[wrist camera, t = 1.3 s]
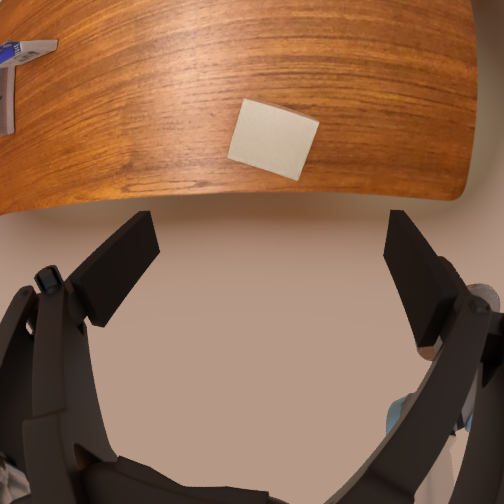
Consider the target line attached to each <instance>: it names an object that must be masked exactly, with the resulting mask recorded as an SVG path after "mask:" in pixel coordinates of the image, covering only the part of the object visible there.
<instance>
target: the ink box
mask: <svg viewBox="0 0 504 504" xmlns="http://www.w3.org/2000/svg"><path fill="white" fill-rule="evenodd" d="M57 42H58V40H57V39H56V40H34V41H22V42H21V41H7V42H5V43H4V44H2V45H1V46H0V50H1V51H0V68H4V67H10V66H16V65H23V64H25V63H27V62H29V61H31V60H33V59H36V58H38V57H40V56H42V55H45V54H47V53H50V52H52V51H54V50H56V49H57Z"/></svg>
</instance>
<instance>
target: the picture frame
mask: <svg viewBox="0 0 504 504" xmlns="http://www.w3.org/2000/svg"><path fill="white" fill-rule="evenodd" d="M14 80H15V66H10V67H4V68H0V137H1V136H5V135H9V134H12V133H14V131H15V129H14V97H13V96H14Z"/></svg>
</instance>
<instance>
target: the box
mask: <svg viewBox="0 0 504 504" xmlns="http://www.w3.org/2000/svg"><path fill="white" fill-rule="evenodd" d="M318 125H319V122H318V121H317V120H316V119H315V118H314V117H313V116H310V115H307V114H304V113H302V112H299V111H296V110H293V109H290V108H287V107H284V106H280V105H277V104H274V103H271V102H267V101H264V100H260V99H249V98H244V100H243V103H242V107H241V110H240V113H239V117H238V120H237V124H236V127H235V131H234V134H233V138H232V141H231V145H230V148H229V152H228V156H227V158H228V159H232V160H235V161H239V162H242V163H245V164H248V165H251V166H255V167H258V168H261V169H264V170H267V171H270V172H273V173H276V174H279V175H282V176H285V177H288V178H291V179H293V180H296V181H298V179H299V177H300V174H301V171H302V169H303V166H304V163H305V161H306V158H307V155H308V153H309V150H310V147H311V144H312V142H313V139H314V136H315V134H316V131H317V128H318Z"/></svg>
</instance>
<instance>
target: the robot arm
mask: <svg viewBox="0 0 504 504" xmlns="http://www.w3.org/2000/svg"><path fill="white" fill-rule="evenodd" d="M159 253H160V250H159V246H158V242H157V238H156V234H155V230H154V226H153V222H152V218H151V214H150V211H139V212H138V213H137V214H136V215H134V216H133V217H132V218H131V219H130V220H128V221H127V222H126V223H125V224H124V225H123V226H121V227H120V228H119V229H118V230H117V231H116V232H115V233H114V234H112V235H111V236H110V237H109V238H108V239H107V240H106V241H105V242H104V243H103V244H101V246H99V247H98V248H97V249H96V250H95V251H94V252H93V253H92V254H91V255H90V256H89V257H88V258H87V259H86V260H85V261H84V262H83V263H82V264H81V265H80V266H79V267H78V268H77V269H76V270H75V271H74V272H73V273H72V274H71V275H70V276H69V277H68V278H67V279H66V280H65V281H63V279H62V277H61V275H60V273H59V271H58V268H57V266H55V265H50V266H47V267H45V268H43V269H42V270H40V271H39V272H38V273H37V274H36V275H35V277H34V279H35V281H36V283H37V285H38V287H39V289H40V291H41V293H39V294H36V292H35V290H34V288H33V286H31V285H30V286H25V287H22V288H21V289H19V291H18V292H17V293H16V295H15V296H14V298H13V300H12V301H11V303H10V305H9V307H8V309H7V311H6V313H5V315H4V317H3V319H2V321H1V323H0V504H289V503H287V502H284V501H282V500H280V499H277V498H273V497H270V496H269V492H267V491H257V490H248V489H241V488H233V487H228V486H225V487H186V486H182V485H180V484H178V483H176V482H175V481H173V480H171V479H169V478H167V477H166V476H164V475H162V474H161V473H159V472H157V471H156V470H154V469H152V468H151V467H149V466H146V465H143V464H140V463H138V462H135V461H132V460H130V459H127V458H125V457H122V456H119V457H117V455H116V454H115V453H114V451H113V450H112V448H111V446H110V444H109V441H108V438H107V434H106V431H105V427H104V423H103V419H102V415H101V411H100V407H99V403H98V398H97V393H96V389H95V383H94V378H93V372H92V366H91V359H90V353H89V344H88V336H87V327H86V324H85V322H84V319H85V318H86V316H88V318H89V320H90V322H91V323H92V325H94V326H99V327H105V325H106V324H107V323H108V321H109V320H110V318H111V317H112V315H113V314H114V313H115V311H116V310H117V308H118V307H119V306H120V304H121V303H122V301H123V300H124V299H125V297H126V296H127V295H128V293H129V292H130V291H131V289H132V288H133V287H134V285H135V284H136V283H137V281H138V280H139V279H140V277H141V276H142V275H143V273H144V272H145V271H146V269H147V268H148V267H149V265H150V264H151V263H152V261H153V260H154V259H155V258H156V257H157V255H158V254H159ZM383 256H384V259H385V261H386V263H387V266H388V268H389V270H390V273H391V275H392V277H393V280H394V283H395V285H396V288H397V290H398V293H399V295H400V298H401V301H402V303H403V306H404V309H405V311H406V314H407V317H408V320H409V323H410V326H411V329H412V332H413V335H414V338H415V341H416V344H417V348H421V347H431V346H433V347H434V349H435V352H436V353H437V354H436V356H435V357H434V359H433V362H432V364H431V366H430V368H429V370H428V372H427V374H426V375H425V377H424V379H423V381H422V382H421V384H420V386H419V388H418V389H417V391H416V392H415V393H410V394H408V395H407V396H405V397H403V398H401V399H399V400H397V401H395V402H393V403H392V405H391V406H390V408H389V410H388V414H387V420H386V437H385V438H384V439H383V441H382V442H381V443H380V445H379V446H378V447H377V448H376V450H375V451H374V452H373V453H372V454H371V456H370V457H369V458H368V459H367V460H366V462H365V463H364V464H363V465H362V466H361V467H360V468H359V470H358V471H357V472H356V473H355V474H354V475H353V476H352V477H351V478H350V479H349V481H348V482H347V483H346V484H345V485H344V486H343V487H342V488H341V489H339V490H338V491H337V492H336V493H335V494H334V495H333V496H332V497H331V498H329V499H328V500H327V501H326V502H325V503H324V504H504V313H499V312H495V311H492V309H491V307H490V305H489V304H488V303H487V301H486V300H484V299H483V298H481V297H479V296H476V295H472V294H471V293H470V291H469V289H468V288H467V286H466V285H465V283H464V282H463V280H462V279H461V278H460V275H459V274H458V272H456V269H455V268H454V267H453V265H452V264H451V263H450V262H449V261H448V260H447V259H445V258H444V257H442V256H437V255H436V253H435V252H434V250H433V249H432V248H431V246H430V245H429V243H428V242H427V240H426V239H425V238H424V237H423V235H422V234H421V232H420V231H419V230H418V228H417V227H416V226H415V225H414V223H413V222H412V221H411V219H410V218H409V217H408V216H407V214H406V213H405V212H404V211H403V210H390V218H389V225H388V231H387V237H386V243H385V249H384V254H383ZM26 323H28V325H29V326H30V328H31V329H32V334H30V333H29V332H28V331H27V329H26ZM464 427H465V430H466V431H467V432H469V437H468V441H467V445H466V450H465V454H464V457H463V461H462V465H461V468H460V472H459V475H458V478H457V481H456V484H455V487H454V479H453V469H452V461H451V454H450V449H451V447H452V446H453V444H454V443H455V441H456V435H455V432H456V431H457V430H459V429H462V428H464Z"/></svg>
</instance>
